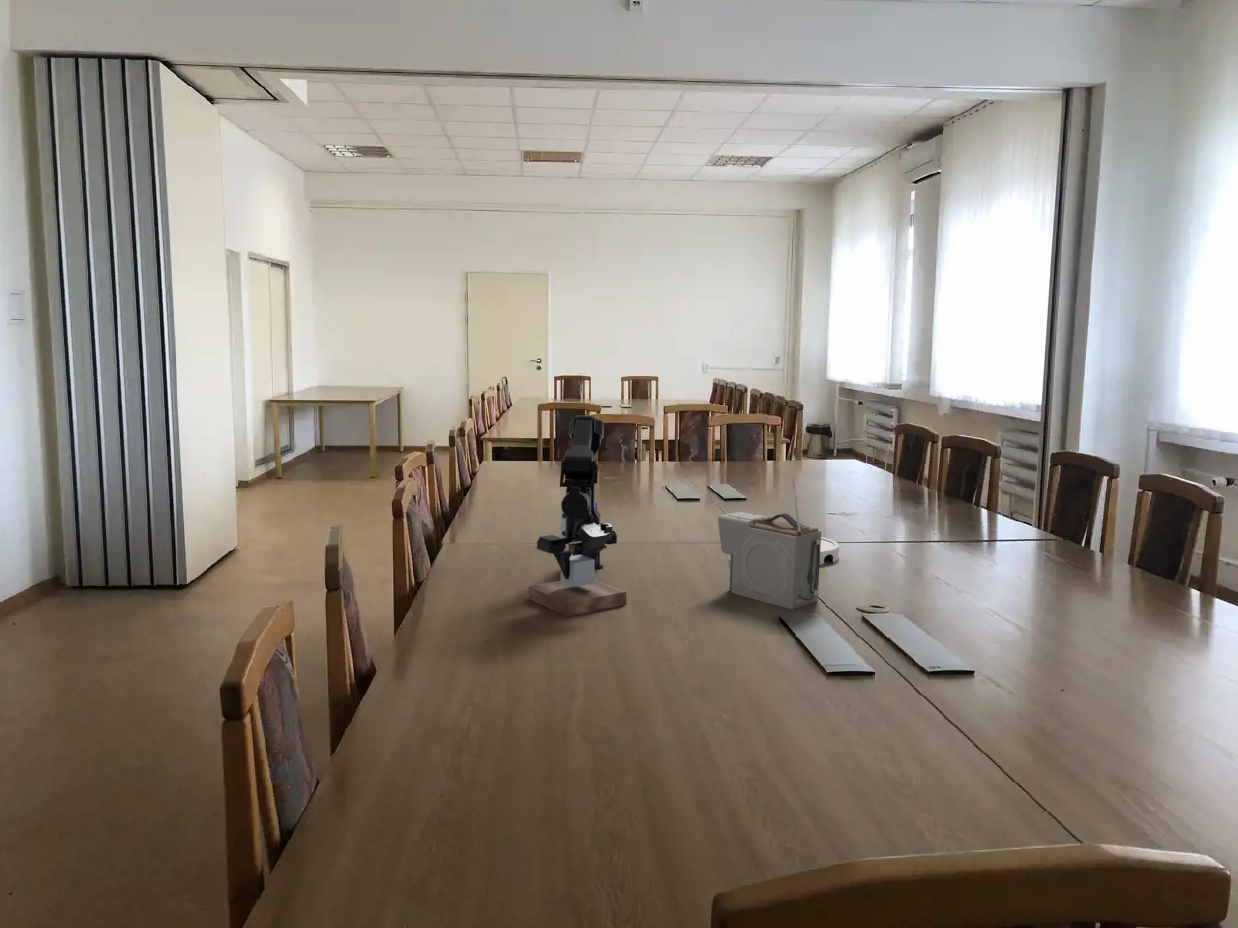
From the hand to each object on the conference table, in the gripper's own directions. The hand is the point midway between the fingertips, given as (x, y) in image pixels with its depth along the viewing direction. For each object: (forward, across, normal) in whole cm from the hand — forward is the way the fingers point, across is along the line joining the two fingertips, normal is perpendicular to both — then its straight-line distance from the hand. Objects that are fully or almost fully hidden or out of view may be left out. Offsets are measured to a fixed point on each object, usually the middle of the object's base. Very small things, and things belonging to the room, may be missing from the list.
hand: (577, 576), depth 207 cm
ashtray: (+6, +77, +2) cm, 77 cm away
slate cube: (+1, 0, 0) cm, 1 cm away
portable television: (+6, +40, -21) cm, 46 cm away
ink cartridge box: (+6, +35, +49) cm, 60 cm away
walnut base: (+6, 0, 0) cm, 6 cm away
